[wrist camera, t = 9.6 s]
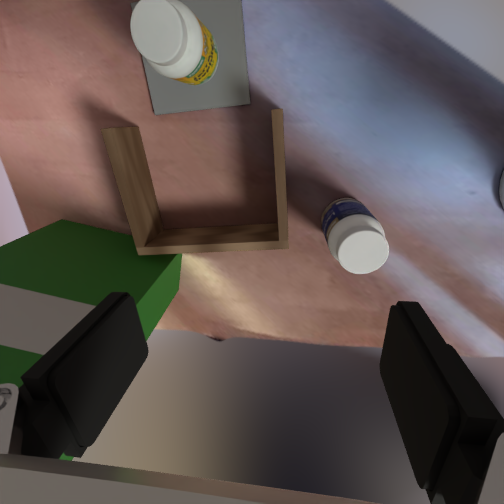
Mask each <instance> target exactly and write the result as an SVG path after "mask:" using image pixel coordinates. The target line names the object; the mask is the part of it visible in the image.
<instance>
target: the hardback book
mask: <svg viewBox="0 0 504 504" xmlns="http://www.w3.org/2000/svg"><path fill="white" fill-rule="evenodd" d="M181 260H182V253H180V254H157V255H138V253H137V249H136V246H135V242H134V239H133V236H132V235H128V234H123V233H119V232H115V231H110V230H106V229H102V228H97V227H93V226H89V225H85V224H80V223H76V222H72V221H67V220H63V219H61V220H59V221H57V222H55V223H52V224H50V225H48V226H46V227H43V228H41V229H39V230H37V231H34V232H32V233H30V234H28V235H25V236H23V237H21V238H19V239H16V240H14V241H12V242H10V243H7V244H5V245H3V246H1V247H0V384H6V383H11V384H15V385H16V386H17V387H18V388H20V387H21V386H22V385H23V384H24V383H23V381H22V380H21V378H20V377H21V376H22V375H23V374H24V373H25V372H26V371H27V370H28V369H29V368H31V367H32V366H33V365H34V364H35V363H36V362H37V361H38V360H39V359H40V358H41V357H42V356H43V355H44V354H46V353H47V352H48V351H49V350H50V349H51V348H52V347H53V346H54V345H55V344H56V343H57V342H58V341H59V340H60V339H62V338H63V337H64V336H65V335H66V334H67V333H68V332H69V331H70V330H71V329H72V328H73V327H74V326H75V325H76V324H78V323H79V322H80V321H81V320H82V319H83V318H84V317H85V316H86V315H87V314H88V313H89V312H90V311H91V310H92V309H94V308H95V307H96V306H97V305H98V304H99V303H100V302H101V301H102V300H103V299H104V298H105V297H106V296H107V295H108V294H110V293H111V292H127V293H129V294H130V296H132V297H133V298H134V300H135V304H136V307H137V311H138V314H139V318H140V321H141V325H142V328H143V332H144V335H145V339H146V341H147V339H148V338H149V336H150V334H151V333H152V331H153V330H154V328H155V327H156V325H157V323H158V322H159V320H160V319H161V317H162V315H163V314H164V312H165V311H166V309H167V307H168V306H169V304H170V303H171V301H172V299H173V298H174V296H175V295H176V293H177V291H178V289H179V280H180V270H181ZM59 459H62V460H69V461H72V459H73V457H72V456H65V454H64V452H63V454H62V455H61V457H60V458H59Z"/></svg>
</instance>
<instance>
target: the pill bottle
mask: <svg viewBox="0 0 504 504" xmlns="http://www.w3.org/2000/svg"><path fill="white" fill-rule="evenodd" d="M321 226H322V229H323V232H324V235H325V238H326V241H327V244H328V247H329V250H330V252H331V254H332V255H333V257H334V258H335V259H336V260H338V261H339V263H340V264H341V266H342V267H343V268H344V269H346V270H347V271H349V272H351V273H355V274H366V273H370V272H372V271H375V270H377V269H378V268H380V267H381V266H382V265H383V264H384V263H385V261H386V260H387V257H388V254H389V245H388V242H387V240H386V239H385V234H384V230H383V228H382V226H381V224H380V223H379V222H378V221H377V219H376V218H375V217H374V216H373V215H372V214H371V213H370V212H369V210H368V209H367V208H366V207H365V206H364V205H363V204H362V203H361V202H359V201H358V200H355V199H352V198H342V199H338V200H336V201H334V202H332V203H331V204H330V205H328V206H327V208H326V209H325V210H324V212H323V214H322V218H321Z"/></svg>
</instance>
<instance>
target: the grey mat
mask: <svg viewBox="0 0 504 504" xmlns="http://www.w3.org/2000/svg"><path fill="white" fill-rule="evenodd" d="M178 1H180V2H182V3H183V4H185V5H186V6H187V7H188V8H189V9H190V10H191V11H192V12H193V13H194V14H195V15H196V17H197V18H198V19H199V20H200V21H201V22H202V23H203V25H204V26H205V27H206V28H207V29H208V30H209V31H210V33H211V34H212V35H213V37H214V39H215V42H216V45H217V49H218V55H219V61H218V66H217V69H216V71H215V73H214V75H213V77H212V78H211V79H210V80H209V81H207V82H206V83H204V84H201V85H189V84H186V83H183V82H180V81H177V80H174V79H171V78H168V77H165V76H163V75H161V74H159V73H158V72H157V71H155V70H154V69H153V68H152V67H151V66H150V64H149V63H148V62H147V60H146V58H145V57H144V56H143V55H142V58H143V63H144V67H145V72H146V76H147V81H148V85H149V90H150V95H151V99H152V104H153V108H154V113H155V115H161V114H169V113H178V112H186V111H195V110H204V109H212V108H221V107H229V106H238V105H246V104H250V94H249V82H248V71H247V60H246V48H245V37H244V25H243V14H242V2H241V0H178ZM137 3H138V2H134V3H131V8H132V12H133V10H134V8H135V6H136V5H137Z"/></svg>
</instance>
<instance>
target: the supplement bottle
mask: <svg viewBox="0 0 504 504" xmlns="http://www.w3.org/2000/svg"><path fill="white" fill-rule="evenodd" d="M130 28H131V35H132V39H133V41H134V44H135V46H136V48H137V49H138V51H139V52H140V53H141V54H142V55H143V56H144V57H145V58H146V60H147V62H148V63H149V64H150V66H151V67H152V68H153V69H154V70H155V71H157V72H158V73H159V74H161V75H163V76H165V77H168V78H171V79H174V80H177V81H180V82H183V83H186V84H189V85H201V84H204V83H206V82H207V81H209V80H210V79H211V78H212V77H213V75H214V73H215V71H216V69H217V66H218V61H219V55H218V49H217V45H216V42H215V39H214V37H213V35H212V34H211V33H210V31H209V30H208V29H207V28H206V27H205V26H204V25H203V23H202V22H201V21H200V20H199V19H198V18H197V17H196V15H195V14H194V13H193V12H192V11H191V10H190V9H189V8H188V7H187V6H186V5H185V4H183V3H182V2H180V1H178V0H140V1H139V2H138V3H137V5H136V6H135V8H134V10H133V12H132V16H131V22H130Z"/></svg>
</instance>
